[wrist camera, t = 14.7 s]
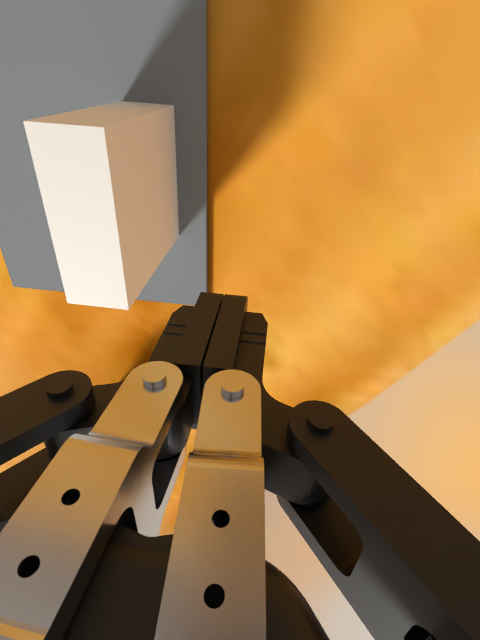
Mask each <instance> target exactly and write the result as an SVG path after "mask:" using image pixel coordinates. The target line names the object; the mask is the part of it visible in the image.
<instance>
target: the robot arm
mask: <svg viewBox="0 0 480 640" xmlns="http://www.w3.org/2000/svg"><path fill="white" fill-rule="evenodd" d="M247 302H248V297H247V296H237V295H227V294H225V295H224V294H217V293H207V292H201V293H200V295H199V297H198V299H197V302H196V304H195V307H194V306H184V305H183V306H182V307H180V308H179V309H178V310H176V311H175V312H174V313H172V315H171V317H170V319H169V321H168V323H167V326H166V327H165V329H164V331H163V334H162V335H161V337H160V339H159V341H158V343H157V345H156V347H155V349H154V351H153V353H152V355H151V357H150V359H149V361H148V362H147V363H144V364H141V365H139V366H137V367H136V368H134V369H133V370H132V371H131V372H130V373H129V374H128V376H127V377H126V379H125V380H124V381H123V382H119V383H113V384H105V385H96V386H92V383H91V380H90V378H89V377H88V376H87V375H86V374H84V373H82V372H79V371H72V370H67V371H60V372H56V373H53V374H50V375H48V376H45V377H43V378H41V379H39V380H36V381H34V382H32V383H30V384H28V385H25V386H23V387H21V388H19V389H17V390H14V391H12V392H10V393H8V394H6V395H3V396H1V397H0V465H2V464H4V463H6V462H7V461H9V460H11V459H13V458H15V457H16V456H18V455H20V454H22V453H24V452H25V451H27V450H29V449H31V448H33V447H35V446H36V445H38V444H40V443H42V442H44V444H45V447H46V448H44V449H42V450H41V451H39V452H37V453H35V454H33V455H32V456H30V457H28V458H26V459H25V460H23V461H21V462H19V463H18V464H16V465H14V466H12V467H11V468H9V469H7V470H5V471H3V472H2V473H0V640H330V639H329V638H328V636H327V634H326V633H325V631H324V629H323V628H322V626H321V624H320V622H319V621H318V619H317V618H316V616H315V614H314V612H313V611H312V609H311V607H310V606H309V604H308V602H307V601H306V599H305V598H304V597H303V595H302V594H301V593H300V591H299V590H298V589H297V587H296V586H295V585H294V584H293V583H292V582H291V581H290V580H289V579H288V578H287V576H286V575H284V574H283V573H282V572H281V571H279V570H278V569H277V568H276V567H275V566H273V565H272V564H271V563H269V562H267V561H266V560H265V504H264V503H265V502H264V501H265V500H264V499H265V498H264V489H266V490H268V491H270V492H272V493H274V494H276V495H277V499H278V501H279V503H280V505H281V507H282V508H283V510H284V511H285V513H286V514H287V515H288V517H289V518H290V520H291V521H292V522H293V524H294V525H295V527H296V528H297V530H298V531H299V532H300V534H301V535H302V536H303V538H304V539H305V541H306V542H307V544H308V545H309V546H310V548H311V549H312V551H313V552H314V554H315V555H316V557H317V558H318V559H319V561H320V562H321V564H322V565H323V566H324V568H325V569H326V571H327V572H328V574H329V575H330V576H331V578H332V579H333V581H334V582H335V584H336V585H337V586H338V588H339V589H340V591H341V592H342V594H343V595H344V596H345V598H346V599H347V601H348V602H349V603H350V605H351V606H352V607H353V609H354V611H355V612H356V613H357V615H358V616H359V618H360V619H361V621H362V622H363V623H364V625H365V626H366V628H367V629H368V630H369V632H370V633H371V635H372V636H373V638H374V639H375V640H480V541H479V540H478V539H477V538H475V537H474V536H473V535H472V534H471V533H470V532H469V531H468V530H467V529H466V528H465V527H464V526H463V525H462V524H460V522H459V521H457V520H456V519H455V518H454V517H453V516H452V515H451V514H450V513H449V512H448V511H447V510H446V509H445V508H444V507H443V506H442V505H441V504H439V503H438V502H437V501H436V500H435V499H434V498H433V497H432V496H431V495H430V494H429V493H428V492H427V491H426V490H425V489H424V488H423V487H421V486H420V485H419V484H418V483H417V482H416V481H415V480H414V479H413V478H412V477H411V476H410V475H409V474H408V473H407V472H406V471H405V470H404V469H402V468H401V467H400V466H399V465H398V464H397V463H396V462H395V461H394V460H393V459H392V458H391V457H390V456H389V455H388V454H387V453H386V452H384V451H383V450H382V449H381V448H380V447H379V446H378V445H377V444H376V443H375V442H374V441H373V440H372V439H371V438H370V437H369V436H367V435H366V434H365V433H364V432H363V431H362V430H361V429H360V428H359V427H358V426H357V425H356V424H355V423H354V422H353V421H351V419H350V418H349V417H347V416H346V415H345V414H344V413H343V412H342V411H341V410H340V409H338V408H337V407H335V406H333V405H331V404H329V403H326V402H322V401H315V400H313V401H305V402H302V403H300V404H298V405H296V406H295V407H294V408H293V407H290V406H288V405H285V404H283V403H281V402H279V401H277V400H275V399H274V398H273V397H271V396H270V395H269V394H268V393H267V391H266V390H265V388H264V386H263V383H262V375H263V365H264V355H265V345H266V335H267V325H268V323H267V321H266V320H265V318H264V316H263V314H262V313H252V312H247ZM191 428H192V429H197V431H196V437H195V443H194V448H193V452H190V453H189V456H188V460H187V464H186V470H185V475H184V481H183V486H182V491H181V497H180V502H179V508H178V513H177V519H176V524H175V529H174V534H171V535H163V536H159V532H160V525H161V521H162V517H163V514H164V511H165V509H166V506H167V503H168V500H169V498H170V495H171V492H172V490H173V487H174V484H175V482H176V479H177V476H178V474H179V471H180V468H181V465H182V463H183V460H184V457H185V455H186V449H187V446H186V444H187V441H188V438H189V434H190V431H191Z"/></svg>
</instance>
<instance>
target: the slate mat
mask: <svg viewBox="0 0 480 640" xmlns="http://www.w3.org/2000/svg"><path fill="white" fill-rule="evenodd" d="M120 101H127V102H140V103H153V104H166V105H174V119H175V145H176V171H177V196H178V222H179V236H178V238H177V239H176V241H175V242H174V244H173V245H172V247H171V248H170V250H169V251H168V253H167V254H166V255H165V257H164V258H163V260H162V261H161V263H160V264H159V266H158V267H157V269H156V270H155V272H154V273H153V275H152V276H151V278H150V279H149V281H148V282H147V283H146V285H145V286H144V288H143V289H142V291H141V292H140V294H139V295H138V297H137V298H136V299H137V300H147V301H156V302H166V303H175V304H185V305H195V304H196V302H197V299H198V297H199V295H200V293H201V292H207V293H208V240H207V0H0V248H1V251H2V254H3V257H4V260H5V263H6V266H7V269H8V272H9V275H10V278H11V280H12V283H13V286H14V287H22V288H32V289H42V290H51V291H61V292H65V291H64V287H63V283H62V279H61V274H60V270H59V266H58V262H57V258H56V254H55V250H54V246H53V242H52V238H51V233H50V229H49V225H48V221H47V217H46V213H45V209H44V205H43V201H42V196H41V192H40V188H39V184H38V180H37V176H36V172H35V168H34V164H33V160H32V155H31V151H30V147H29V143H28V139H27V135H26V131H25V127H24V123H23V121H25V120H30V119H35V118H40V117H45V116H50V115H55V114H60V113H65V112H70V111H75V110H80V109H85V108H90V107H95V106H100V105H105V104H110V103H115V102H120Z"/></svg>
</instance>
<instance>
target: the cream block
mask: <svg viewBox="0 0 480 640" xmlns="http://www.w3.org/2000/svg"><path fill="white" fill-rule="evenodd" d="M23 123H24V127H25V131H26V135H27V139H28V143H29V147H30V151H31V155H32V160H33V164H34V168H35V172H36V176H37V180H38V184H39V188H40V192H41V196H42V201H43V205H44V209H45V213H46V217H47V221H48V225H49V229H50V233H51V238H52V242H53V246H54V250H55V254H56V258H57V262H58V266H59V270H60V274H61V279H62V283H63V287H64V291H65V295H66V299H67V303H72V304H81V305H90V306H99V307H108V308H116V309H125V310H129V309H130V307H131V306H132V304H133V303H134V301H135V300H136V298H137V297H138V295H139V294H140V292H141V291H142V289H143V288H144V286H145V285H146V283H147V282H148V281H149V279H150V278H151V276H152V275H153V273H154V272H155V270H156V269H157V267H158V266H159V264H160V263H161V261H162V260H163V258H164V257H165V255H166V254H167V253H168V251H169V250H170V248H171V247H172V245H173V244H174V242H175V241H176V239H177V238H178V236H179V222H178V196H177V171H176V145H175V119H174V105H166V104H153V103H140V102H127V101H120V102H115V103H110V104H105V105H100V106H95V107H90V108H85V109H80V110H75V111H70V112H65V113H60V114H55V115H50V116H45V117H40V118H35V119H30V120H25V121H23Z"/></svg>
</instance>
